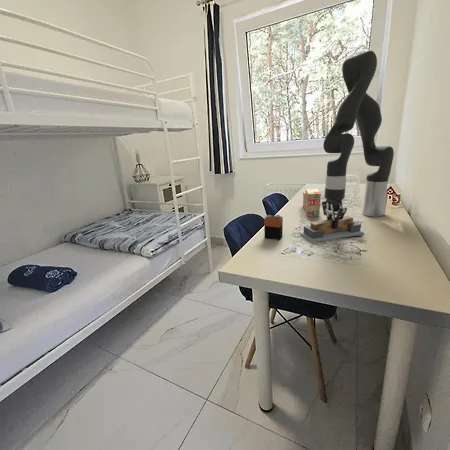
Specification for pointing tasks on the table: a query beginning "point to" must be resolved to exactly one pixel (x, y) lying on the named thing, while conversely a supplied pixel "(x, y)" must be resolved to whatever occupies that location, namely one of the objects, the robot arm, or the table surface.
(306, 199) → the stack of blocks
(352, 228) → the cap board
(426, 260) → the table surface
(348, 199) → the table surface
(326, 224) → the slat
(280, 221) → the battery
